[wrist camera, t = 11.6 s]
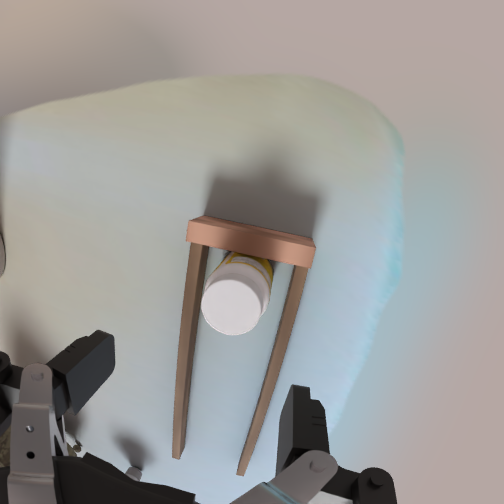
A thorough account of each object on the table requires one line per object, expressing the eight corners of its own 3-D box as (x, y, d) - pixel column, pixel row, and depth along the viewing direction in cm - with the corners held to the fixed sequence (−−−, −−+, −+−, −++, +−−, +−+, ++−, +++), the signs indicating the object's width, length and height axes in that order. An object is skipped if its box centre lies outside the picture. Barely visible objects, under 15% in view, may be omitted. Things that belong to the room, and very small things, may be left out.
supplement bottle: (236, 304, 28) (215, 349, 20) (212, 259, 27) (181, 290, 19) (282, 284, 27) (279, 325, 19) (259, 237, 26) (246, 261, 18)
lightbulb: (145, 460, 36) (119, 509, 26) (158, 480, 37) (137, 526, 27) (115, 454, 37) (88, 497, 26) (130, 474, 38) (106, 516, 28)
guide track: (177, 445, 34) (168, 465, 30) (203, 215, 26) (188, 220, 22) (246, 463, 33) (241, 484, 29) (311, 238, 26) (315, 248, 22)
